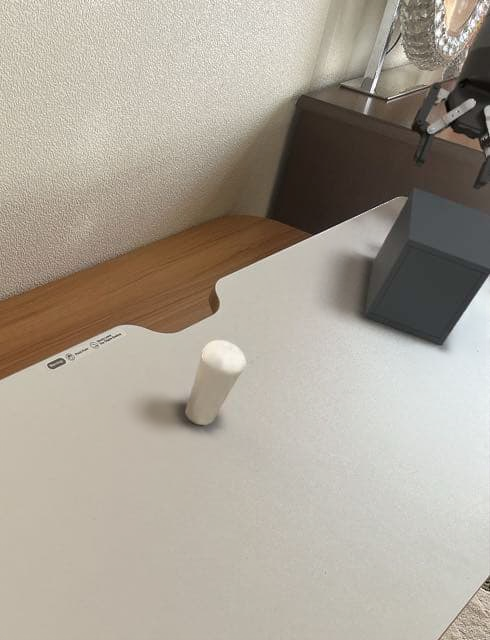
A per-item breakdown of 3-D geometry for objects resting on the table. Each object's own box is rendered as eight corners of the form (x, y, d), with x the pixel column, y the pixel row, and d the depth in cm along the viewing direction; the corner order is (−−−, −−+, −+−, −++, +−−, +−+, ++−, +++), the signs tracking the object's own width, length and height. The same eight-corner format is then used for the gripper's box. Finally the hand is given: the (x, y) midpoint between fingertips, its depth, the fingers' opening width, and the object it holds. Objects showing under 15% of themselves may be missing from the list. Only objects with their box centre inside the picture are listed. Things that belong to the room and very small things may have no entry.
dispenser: (372, 263, 123) (413, 186, 114) (444, 290, 122) (491, 215, 114) (364, 316, 114) (408, 238, 105) (441, 345, 114) (493, 269, 105)
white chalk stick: (214, 440, 93) (247, 368, 85) (171, 414, 94) (201, 341, 86) (232, 419, 96) (267, 347, 88) (190, 394, 97) (221, 321, 89)
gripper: (455, 28, 116) (408, 147, 118) (558, 66, 116) (509, 185, 117) (436, 55, 124) (391, 167, 125) (532, 91, 123) (486, 202, 125)
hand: (448, 176), depth 121 cm, fingers open, 8 cm apart
